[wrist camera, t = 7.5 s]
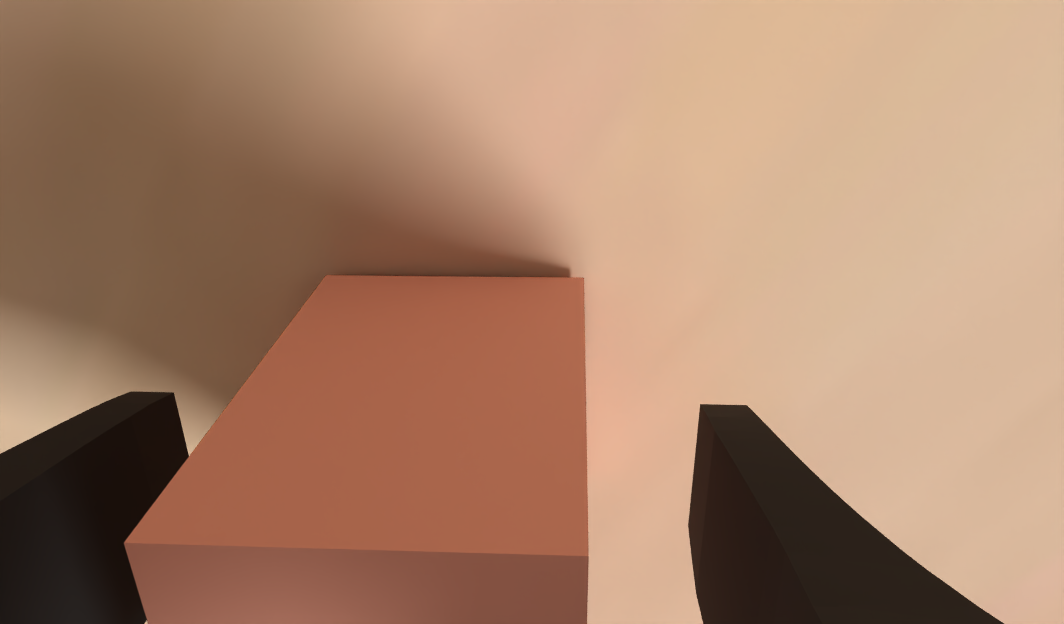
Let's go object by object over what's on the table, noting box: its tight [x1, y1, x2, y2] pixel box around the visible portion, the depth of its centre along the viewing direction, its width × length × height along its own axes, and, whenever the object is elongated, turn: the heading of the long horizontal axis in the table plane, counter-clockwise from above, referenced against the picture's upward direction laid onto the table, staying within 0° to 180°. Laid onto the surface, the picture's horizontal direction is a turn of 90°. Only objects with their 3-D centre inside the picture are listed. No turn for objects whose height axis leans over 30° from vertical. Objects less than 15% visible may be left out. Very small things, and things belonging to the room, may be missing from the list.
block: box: [124, 275, 588, 624], centre depth 10 cm, size 4×4×6 cm
